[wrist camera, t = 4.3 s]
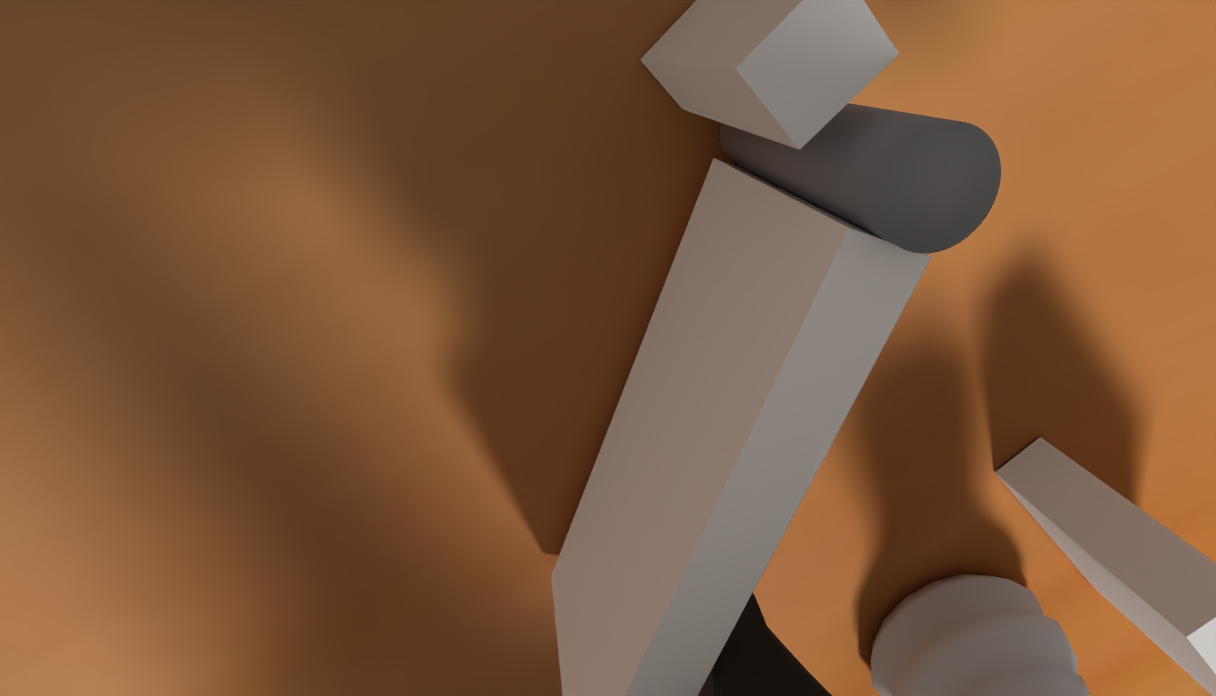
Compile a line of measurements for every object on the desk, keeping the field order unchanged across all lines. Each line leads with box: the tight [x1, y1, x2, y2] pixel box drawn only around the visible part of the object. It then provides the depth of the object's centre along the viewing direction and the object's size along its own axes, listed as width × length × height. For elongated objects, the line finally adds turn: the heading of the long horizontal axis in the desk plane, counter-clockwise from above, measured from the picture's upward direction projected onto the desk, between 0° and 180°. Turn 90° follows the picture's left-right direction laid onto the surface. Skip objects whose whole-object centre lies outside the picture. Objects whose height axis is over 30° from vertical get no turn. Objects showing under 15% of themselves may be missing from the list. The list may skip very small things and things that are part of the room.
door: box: [551, 103, 1001, 696], centre depth 10 cm, size 1×10×5 cm, turn 161°
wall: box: [640, 0, 1216, 696], centre depth 11 cm, size 1×17×4 cm, turn 44°
